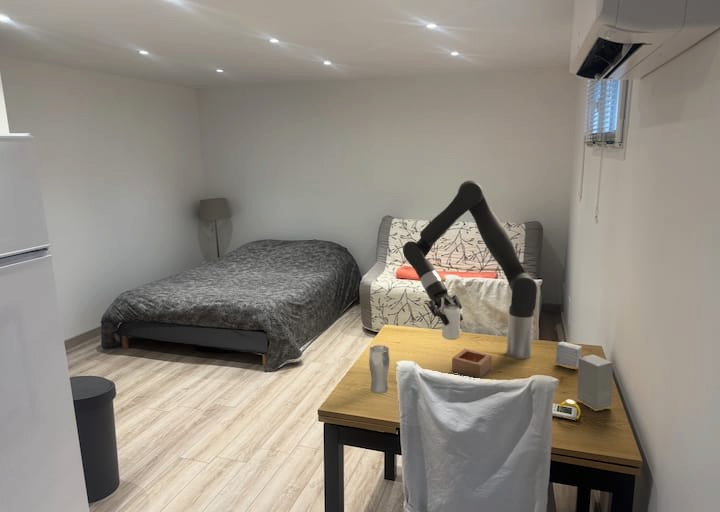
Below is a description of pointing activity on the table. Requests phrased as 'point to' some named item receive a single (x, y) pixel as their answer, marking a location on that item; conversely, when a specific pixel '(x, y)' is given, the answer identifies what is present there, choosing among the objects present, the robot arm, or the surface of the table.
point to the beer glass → (379, 368)
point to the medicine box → (568, 354)
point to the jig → (471, 363)
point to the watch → (571, 403)
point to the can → (451, 322)
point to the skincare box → (595, 381)
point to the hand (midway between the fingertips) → (454, 322)
